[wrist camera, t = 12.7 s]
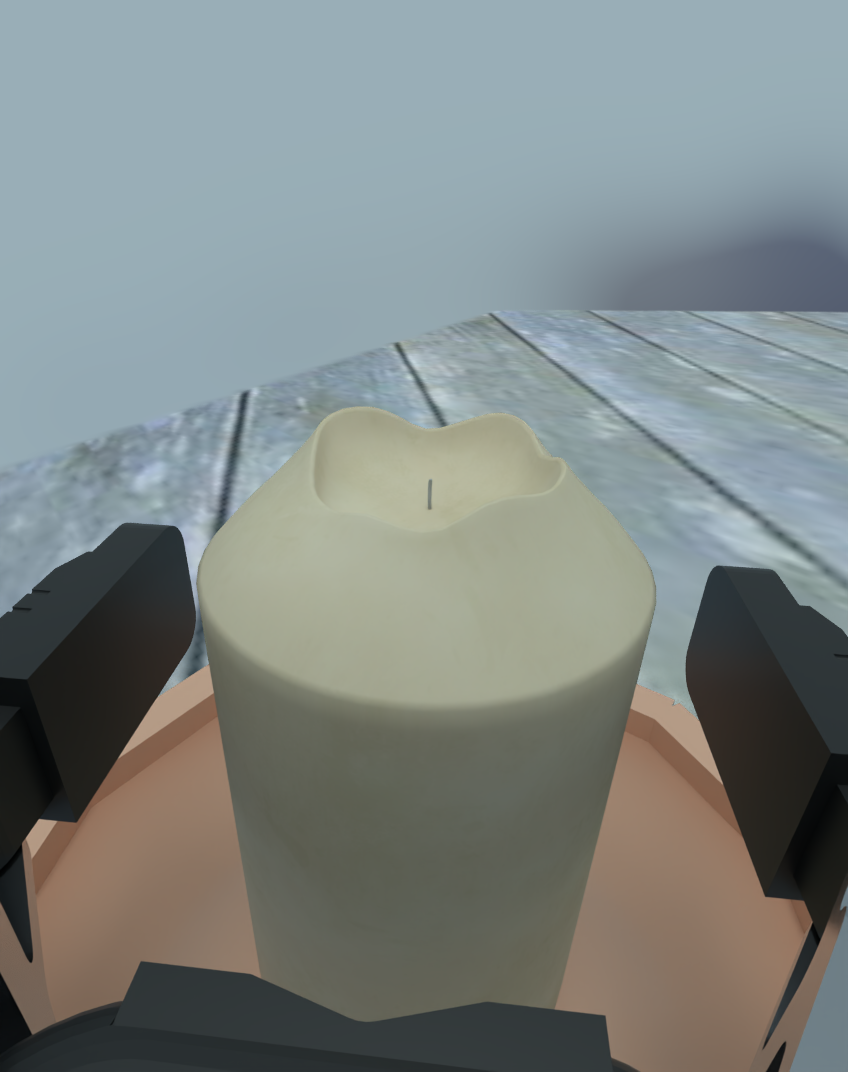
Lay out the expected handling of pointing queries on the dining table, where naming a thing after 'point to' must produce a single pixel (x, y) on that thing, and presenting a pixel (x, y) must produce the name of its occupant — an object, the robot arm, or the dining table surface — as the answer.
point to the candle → (421, 708)
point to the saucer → (601, 932)
